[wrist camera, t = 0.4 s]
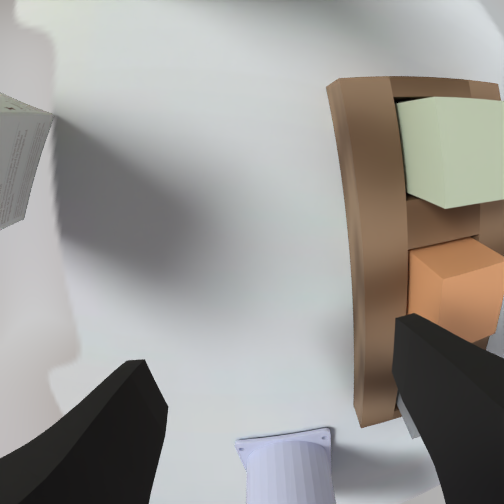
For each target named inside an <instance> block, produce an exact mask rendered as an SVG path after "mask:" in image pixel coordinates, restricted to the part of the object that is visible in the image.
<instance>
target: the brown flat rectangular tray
mask: <svg viewBox="0 0 504 504" xmlns="http://www.w3.org/2000/svg"><path fill="white" fill-rule="evenodd" d="M326 89H327V94H328V99H329V104H330V109H331V115H332V120H333V126H334V132H335V137H336V143H337V150H338V156H339V163H340V170H341V177H342V184H343V192H344V200H345V209H346V218H347V228H348V239H349V250H350V263H351V277H352V295H353V319H354V404H353V405H354V408H355V411H356V414H357V417H358V420H359V424H360V427H361V428H364V427H367V426H371V425H375V424H378V423H382V422H385V421H389V420H392V419H395V418H399V417H402V415H401V413H400V410H399V408H398V406H397V404H396V397H397V391H398V388H397V385H396V382H395V380H394V377H393V374H392V362H393V350H394V335H395V318H397V317H401V316H405V315H406V306H407V282H408V250H409V249H413V248H418V247H423V246H428V245H432V244H437V243H442V242H446V241H451V240H455V239H460V238H464V237H471V238H473V239H475V240H476V241H478V242H480V243H482V244H483V245H485V246H487V247H488V248H490V249H492V250H493V251H495V252H497V253H498V254H500V255H502V256H503V257H504V199H503V200H496V201H490V202H484V203H478V204H472V205H466V206H460V207H454V208H448V209H444V208H442V207H440V206H437V205H435V204H433V203H431V202H428V201H426V200H424V199H421V198H419V197H416V196H414V195H412V194H409V193H407V192H405V179H404V169H403V159H402V150H401V143H400V135H399V128H398V122H397V115H396V109H395V104H394V101H412V100H418V99H423V98H429V97H457V98H474V99H486V100H497V101H501V98H500V92H499V87H498V84H496V83H488V82H481V81H472V80H463V79H451V78H436V77H409V76H382V77H354V78H339V79H337V80H336V81H334V82H333V83H331V84H330V85H328V86H327V87H326ZM488 339H489V336H487V337H485V338H483V339H480V340H478V341H475V342H473V343H472V344H474V345H476V346H478V347H480V348H482V349H484V350H486V347H487V343H488Z"/></svg>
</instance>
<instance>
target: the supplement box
mask: <svg viewBox="0 0 504 504" xmlns="http://www.w3.org/2000/svg"><path fill="white" fill-rule="evenodd" d="M52 121H53V114H52V113H49V112H46V111H43V110H40V109H38V108H35V107H32V106H30V105H27V104H25V103H22V102H20V101H18V100H15V99H13V98H11V97H9V96H6V95H4V94H2V93H0V230H2V229H4V228H6V227H8V226H10V225H12V224H14V223H16V222H18V221H21V220H23V219H24V217H25V213H26V208H27V204H28V200H29V196H30V192H31V188H32V184H33V180H34V177H35V173H36V170H37V166H38V163H39V160H40V156H41V153H42V150H43V147H44V144H45V141H46V138H47V135H48V133H49V130H50V127H51V124H52Z"/></svg>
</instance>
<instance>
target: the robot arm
mask: <svg viewBox="0 0 504 504" xmlns="http://www.w3.org/2000/svg"><path fill="white" fill-rule="evenodd" d="M392 374H393V377H394V380H395V382H396V385H397V388H398V391H399V393H400V396H401V399H402V401H403V403H404V405H405V407H406V409H407V411H408V412H409V414H410V416H411V418H412V420H413V422H414V424H415V426H416V428H417V430H418V432H419V434H420V436H421V438H422V440H423V442H424V444H425V446H426V448H427V450H428V452H429V454H430V456H431V459H432V461H433V463H434V466H435V468H436V472H437V475H438V478H439V481H440V484H441V487H442V491H443V494H444V498H445V502H446V504H504V359H503V358H501V357H499V356H497V355H495V354H493V353H490V352H488V351H486V350H484V349H482V348H480V347H478V346H476V345H474V344H472V343H470V342H468V341H466V340H464V339H463V338H461V337H459V336H457V335H455V334H453V333H451V332H450V331H448V330H446V329H444V328H442V327H441V326H439V325H437V324H435V323H433V322H431V321H430V320H428V319H426V318H424V317H422V316H420V315H418V314H416V313H412V314H408V315H405V316H401V317H397V318H395V335H394V350H393V362H392ZM167 414H168V405H167V403H166V402H165V400H164V398H163V396H162V394H161V392H160V390H159V388H158V386H157V384H156V382H155V380H154V378H153V376H152V374H151V372H150V370H149V368H148V365H147V363H146V361H145V359H144V360H129V361H126V362H125V363H123V364H122V365H121V366H120V367H118V368H117V369H116V370H115V371H114V372H113V373H112V374H110V375H109V376H108V377H107V378H106V379H105V380H104V381H103V382H102V383H101V384H100V385H98V386H97V387H96V388H95V389H94V390H93V391H92V392H91V393H90V394H89V395H88V396H86V397H85V398H84V399H83V400H82V401H81V402H80V403H79V404H78V405H76V406H75V407H74V408H73V409H72V410H71V411H69V412H68V413H67V414H66V415H65V416H63V417H62V418H61V419H60V420H59V421H58V422H56V423H55V424H54V425H53V426H52V427H50V428H49V429H47V430H46V431H45V432H43V433H42V434H41V435H39V436H38V437H36V438H35V439H33V440H32V441H30V442H29V443H27V444H25V445H24V446H22V447H20V448H19V449H17V450H15V451H13V452H11V453H10V454H8V455H6V456H4V457H2V458H0V504H149V499H150V494H151V490H152V486H153V482H154V478H155V474H156V470H157V466H158V462H159V458H160V454H161V450H162V446H163V442H164V438H165V432H166V424H167ZM235 448H236V450H237V453H238V455H239V457H240V459H241V461H242V464H243V466H244V468H245V470H246V472H247V489H246V504H336V500H335V494H334V489H333V484H332V478H331V432H330V429H328V428H322V429H317V430H311V431H306V432H300V433H294V434H287V435H280V436H273V437H265V438H256V439H246V440H237V441H236V442H235Z"/></svg>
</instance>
